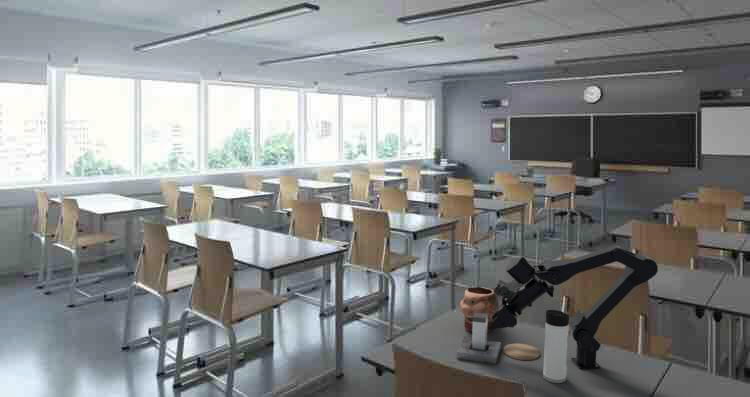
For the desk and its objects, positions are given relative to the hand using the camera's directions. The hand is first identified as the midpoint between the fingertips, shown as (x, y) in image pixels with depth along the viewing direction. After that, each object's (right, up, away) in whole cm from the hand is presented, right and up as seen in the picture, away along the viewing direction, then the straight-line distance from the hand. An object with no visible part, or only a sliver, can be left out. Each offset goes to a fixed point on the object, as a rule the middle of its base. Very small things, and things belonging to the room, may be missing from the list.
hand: (490, 323), depth 168 cm
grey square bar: (-3, -10, +3) cm, 11 cm away
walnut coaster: (+11, -10, +3) cm, 15 cm away
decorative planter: (+2, -7, +24) cm, 25 cm away
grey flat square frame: (-3, -10, +3) cm, 11 cm away
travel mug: (+15, -13, -14) cm, 24 cm away
